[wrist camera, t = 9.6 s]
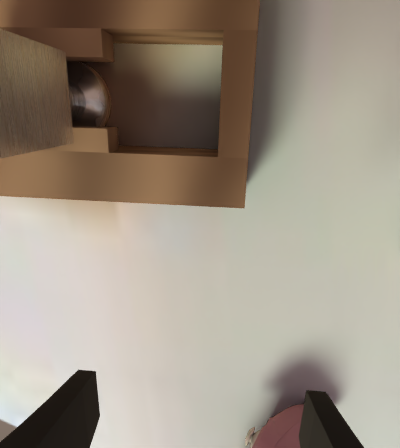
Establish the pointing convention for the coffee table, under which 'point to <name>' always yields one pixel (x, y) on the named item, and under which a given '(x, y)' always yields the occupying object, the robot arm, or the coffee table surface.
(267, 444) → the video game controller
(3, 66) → the steel peg
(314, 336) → the coffee table surface
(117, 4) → the keyhole plate
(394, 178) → the coffee table surface
